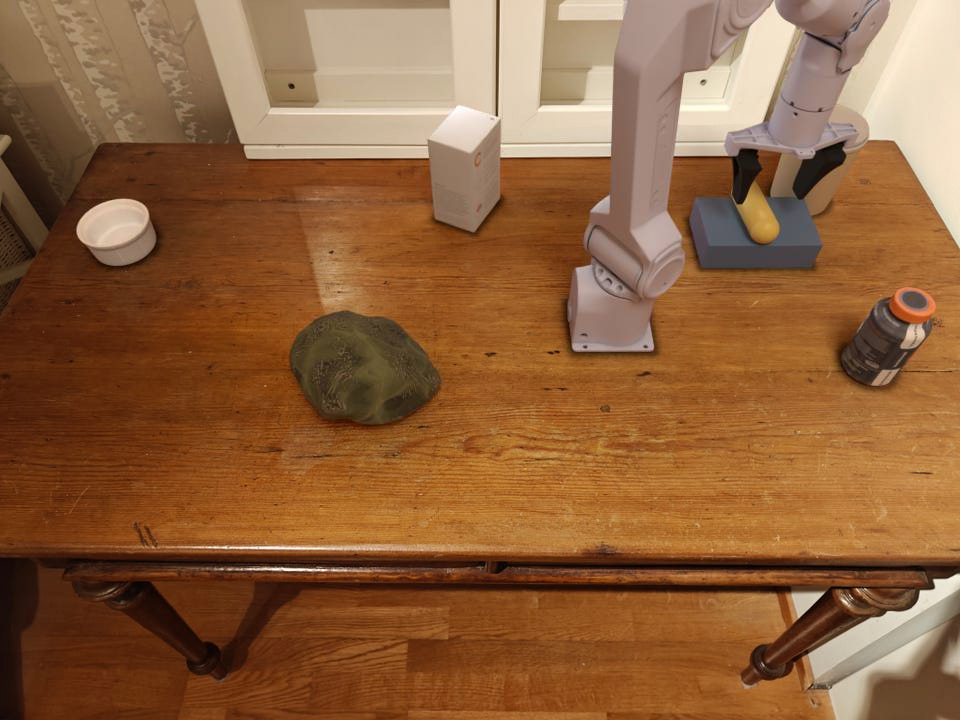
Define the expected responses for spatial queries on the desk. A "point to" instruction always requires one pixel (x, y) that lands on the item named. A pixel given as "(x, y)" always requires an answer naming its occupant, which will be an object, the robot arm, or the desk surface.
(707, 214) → the block
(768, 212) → the yellow capsule pill
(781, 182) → the coffee cup
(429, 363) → the decorative rock
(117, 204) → the ramekin
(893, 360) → the pill bottle
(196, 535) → the desk surface
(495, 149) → the small box
